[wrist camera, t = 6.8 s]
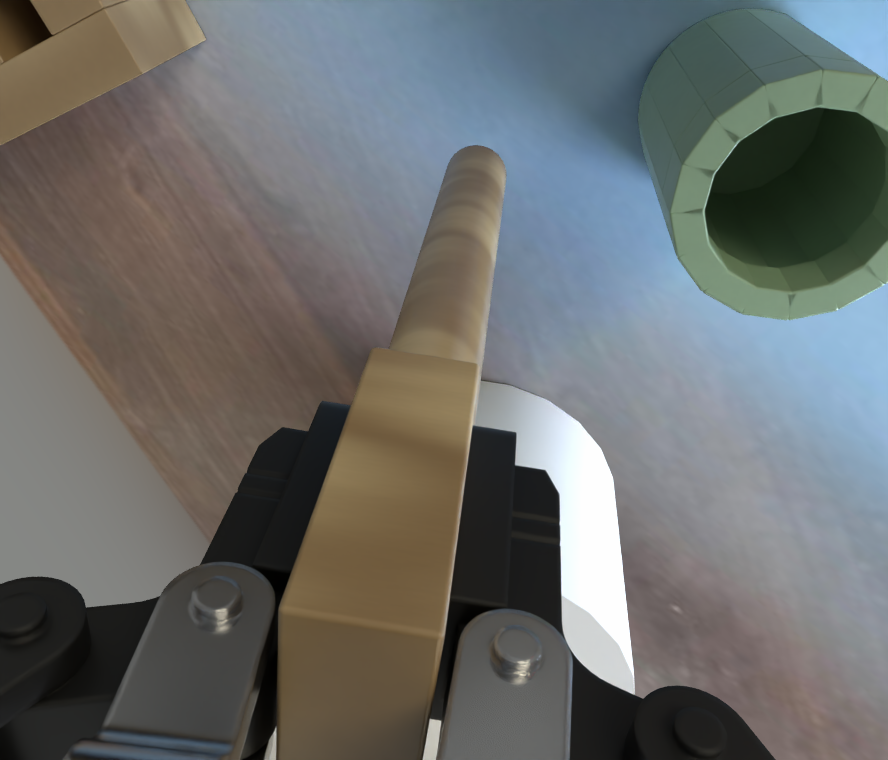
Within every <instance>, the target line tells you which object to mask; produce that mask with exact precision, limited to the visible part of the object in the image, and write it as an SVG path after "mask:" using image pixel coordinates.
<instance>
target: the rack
mask: <svg viewBox="0 0 888 760" xmlns="http://www.w3.org/2000/svg"><path fill="white" fill-rule="evenodd" d="M205 40H206V38H205V36H204V34H203V32H202V30H201V29H200V27H199V25H198V23H197V21H196V19H195V18H194V16H193V14H192V12H191V10H190V8H189V7H188V5H187V3H186V1H185V0H0V145H2V144H4V143H6V142H8V141H10V140H12V139H14V138H16V137H18V136H20V135H22V134H24V133H26V132H28V131H30V130H32V129H34V128H36V127H38V126H40V125H42V124H44V123H46V122H48V121H50V120H52V119H54V118H56V117H58V116H60V115H62V114H64V113H66V112H68V111H70V110H72V109H74V108H76V107H78V106H80V105H82V104H84V103H86V102H88V101H90V100H92V99H94V98H96V97H98V96H100V95H102V94H104V93H106V92H108V91H110V90H112V89H114V88H116V87H118V86H120V85H122V84H124V83H126V82H128V81H130V80H132V79H134V78H136V77H138V76H140V75H142V74H144V73H146V72H147V71H149V70H151V69H153V68H155V67H157V66H159V65H160V64H162V63H164V62H166V61H168V60H170V59H172V58H174V57H175V56H177V55H179V54H181V53H183V52H185V51H187V50H188V49H190V48H192V47H194V46H196V45H198V44H200V43H201V42H203V41H205Z"/></svg>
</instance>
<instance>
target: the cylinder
mask: <svg viewBox="0 0 888 760" xmlns="http://www.w3.org/2000/svg"><path fill="white" fill-rule="evenodd" d="M475 426H481V427H487V428H493V429H499V430H506V431H512V432H516V433H517V438H516V456H515V465H518V466H524V467H530V468H536V469H542V470H546V472H547V473H548V475H549V477H550V478H551V480H552V482H553V484H554V485H555V487H556V489H557V491H558V492H559V494H560V524H559V525H560V546H561V595H562V627H563V633H564V636H565V639H566V641H567V644H568V646H569V648H570V649H571V651H572V652H573V654H574V655H575V657H576V658H577V659H578V660H579V661H580V662H581V663H582V664H583V665H584V666H585V667H586V668H587V669H588V670H589V671H590V672H592V673H593V674H595V675H596V676H598V677H599V678H600V679H602V680H604V681H606V682H608V683H610V684H612V685H614V686H616V687H618V688H620V689H623V690H625V691H627V692H629V693H631V694H633V695H635V686H634V672H633V662H632V653H631V643H630V634H629V624H628V615H627V606H626V596H625V587H624V577H623V568H622V558H621V549H620V540H619V530H618V521H617V511H616V502H615V492H614V483H613V477H612V475H611V472H610V470H609V467H608V465H607V462H606V460H605V457H604V455H603V453H602V450H601V448H600V447H599V446H598V445H597V443H596V442H595V441H594V440H593V439H592V437H591V436H590V435H589V434H588V433H587V431H586V430H585V429H584V428H583V426H582V425H581V424H580V423H579V422H578V421H577V420H575V419H574V418H572V417H571V416H570V415H568V414H567V413H565V412H564V411H563V410H561V409H560V408H558V407H557V406H555V405H554V404H553V403H551V402H550V401H548V400H546V399H544V398H541V397H539V396H536V395H534V394H531V393H529V392H526V391H524V390H521V389H519V388H516V387H513V386H511V385H505V384H499V383H492V382H486V381H480V389H479V397H478V404H477V412H476V420H475ZM440 727H441V721H440V720H434V719H430V722H429V727H428V733H427V738H426V744H425V749H424V755H423V760H436V756H437V751H438V743H439V735H440ZM269 760H276V728H275V731H274V739H273V746H272V750H271V754H270V758H269Z"/></svg>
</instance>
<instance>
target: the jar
mask: <svg viewBox="0 0 888 760" xmlns="http://www.w3.org/2000/svg"><path fill="white" fill-rule="evenodd" d="M638 125H639V134H640V138H641V142H642V148H643V153H644V157H645V160H646V163H647V166H648V169H649V172H650V175H651V178H652V181H653V185H654V188H655V191H656V194H657V197H658V200H659V203H660V206H661V209H662V212H663V216H664V219H665V222H666V225H667V228H668V231H669V234H670V237H671V240H672V243H673V246H674V249H675V252H676V255H677V258H678V260H679V261H680V262H681V264H682V265H683V267H684V268H685V269H686V271H687V272H688V274H689V275H690V276H691V278H692V279H693V280H694V282H695V283H696V285H697V286H698V287H699V289H700V290H701V291H703V292H704V293H705V294H706V295H708V296H710V297H712V298H713V299H715V300H717V301H719V302H721V303H722V304H724V305H726V306H728V307H729V308H731V309H733V310H735V311H736V312H738V313H741V314H744V315H751V316H758V317H766V318H773V319H781V320H793V319H798V318H803V317H808V316H813V315H818V314H823V313H828V312H833V311H837V310H838V309H842V308H843V307H845V306H847V305H849V304H851V303H852V302H854V301H856V300H858V299H860V298H862V297H863V296H865V295H867V294H869V293H871V292H873V291H874V290H876V289H878V288H880V287H882V286H883V285H884V284H887V283H888V81H887V80H885V79H884V78H882V77H881V76H879V75H878V74H876V73H875V72H873V71H872V70H870V69H869V68H867V67H866V66H864V65H863V64H861V63H859V62H858V61H856V60H855V59H853V58H852V57H850V56H849V55H847V54H846V53H844V52H843V51H841V50H840V49H838V48H837V47H835V46H834V45H832V44H831V43H829V42H828V41H826V40H825V39H823V38H822V37H820V36H819V35H817V34H816V33H814V32H812V31H811V30H809V29H808V28H806V27H805V26H803V25H802V24H800V23H799V22H797V21H796V20H794V19H793V18H791V17H789V16H788V15H786V14H784V13H777V12H775V11H770V10H764V9H752V8H747V9H735V10H731V11H726V12H722V13H719V14H716V15H713V16H711V17H708V18H706V19H704V20H702V21H700V22H698V23H696V24H695V25H693V26H691V27H690V28H688V29H687V30H685V31H684V32H683V33H682V34H680V35H679V36H678V37H677V38H676V39H675V40H673V41H672V43H671V44H670V45H669V46H668V47H667V48H666V49H665V50H664V51H663V53H662V54H661V55H660V57H659V58H658V59H657V61H656V62H655V64H654V66H653V67H652V69H651V71H650V73H649V75H648V77H647V79H646V82H645V84H644V87H643V90H642V94H641V97H640V104H639V110H638Z"/></svg>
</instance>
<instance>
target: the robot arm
mask: <svg viewBox="0 0 888 760" xmlns="http://www.w3.org/2000/svg"><path fill="white" fill-rule="evenodd" d="M350 407H351V405H345V404H339V403H332V402H326V401H322V402H321V403H320V405H319V407H318V409H317V411H316V414H315V416H314V419H313V421H312V423H311V426H310V428H309V431H302V430H296V429H290V428H284V427H282V428H281V429H280V430H278V431H277V432H276V433H274V434H273V435H272V436H270V437H269V438H268V439H267V440H265V441H264V442H263V443H261V444H260V445H259V446H258V448H257V450H256V453H255V455H254V457H253V459H252V461H251V463H250V465H249V467H248V470H247V473H245V475H244V477H243V479H242V481H241V483H240V485H239V487H238V492H237V493H235V495H234V497H233V499H232V501H231V503H230V505H229V507H228V509H227V511H226V513H225V515H224V517H223V519H222V522H221V524H220V526H219V528H218V530H217V532H216V534H215V536H214V538H213V540H212V542H211V544H210V546H209V548H208V550H207V552H206V554H205V556H204V558H203V560H202V562H201V564H200V565H199V566H196V567H193V568H191V569H189V570H187V571H185V572H183V573H182V574H180V575H178V576H177V577H176V578H174V579H173V580H172V581H171V582H170V583H169V584H168V585H167V586H166V588H165V589H164V591H163V592H162V594H161V595H160V596H159V597H157V598H154V599H150V600H146V601H142V602H135V603H128V604H117V605H107V606H97V607H87V608H86V607H85V602H84V599H83V597H82V595H81V594H80V593H79V592H78V590H77V589H76V588H74V587H73V586H71V585H70V584H68V583H66V582H64V581H62V580H58V579H54V578H49V577H27V578H20V579H16V580H12V581H8V582H5V583H3V584H0V760H269V758H270V754H271V750H272V746H273V739H274V731H275V728H276V726H277V663H278V608H279V605H280V602H281V599H282V597H283V594H284V591H285V588H286V585H287V583H288V580H289V577H290V574H291V572H292V569H293V566H294V563H295V560H296V558H297V555H298V552H299V549H300V546H301V544H302V541H303V538H304V535H305V532H306V530H307V527H308V524H309V521H310V518H311V516H312V513H313V510H314V507H315V504H316V502H317V499H318V496H319V493H320V491H321V488H322V485H323V482H324V479H325V477H326V474H327V471H328V468H329V465H330V463H331V460H332V457H333V454H334V451H335V449H336V446H337V443H338V440H339V437H340V435H341V432H342V429H343V426H344V424H345V421H346V418H347V415H348V412H349V410H350ZM516 438H517V433H516V432H512V431H506V430H499V429H493V428H487V427H481V426H475V425H473V426H472V434H471V441H470V449H469V456H468V464H467V472H466V479H465V487H464V495H463V502H462V510H461V517H460V525H459V533H458V540H457V548H456V556H455V563H454V571H453V578H452V586H451V594H450V601H449V609H448V617H447V624H446V632H445V638H444V644H443V650H442V655H441V661H440V666H439V672H438V677H437V683H436V688H435V694H434V700H433V705H432V711H431V716H430V719H434V720H440V721H441V727H440V735H439V743H438V751H437V756H436V760H775V759H774V757H773V756H772V755H771V754H770V752H769V751H768V750H767V749H766V747H765V746H764V745H763V744H762V743H761V741H760V740H759V739H758V738H757V736H756V735H755V734H754V733H753V731H752V730H751V729H750V728H749V726H748V725H747V724H746V723H745V722H744V720H743V719H742V718H741V717H740V716H739V715H738V714H737V713H736V712H735V711H734V710H733V709H732V708H731V707H730V706H728V705H727V704H726V703H724V702H723V701H721V700H720V699H718V698H717V697H715V696H713V695H711V694H709V693H707V692H704V691H702V690H699V689H696V688H691V687H687V686H667V687H663V688H659V689H657V690H655V691H653V692H651V693H650V694H648V695H647V696H646V697H645V698H644V699H642V698H640V697H638V696H635V695H633V694H631V693H629V692H627V691H625V690H623V689H620V688H618V687H616V686H614V685H612V684H610V683H608V682H606V681H604V680H602V679H600V678H599V677H598V676H596V675H595V674H593V673H592V672H590V671H589V670H588V669H587V668H586V667H585V666H584V665H583V664H582V663H581V662H580V661H579V660H578V659H577V658H576V657H575V655H574V654H573V652H572V651H571V649H570V648H569V646H568V644H567V641H566V639H565V636H564V633H563V627H562V595H561V546H560V525H559V524H560V494H559V492H558V491H557V489H556V487H555V485H554V484H553V482H552V480H551V478H550V477H549V475H548V473H547V472H546V470H542V469H536V468H530V467H524V466H518V465H515V456H516Z"/></svg>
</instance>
